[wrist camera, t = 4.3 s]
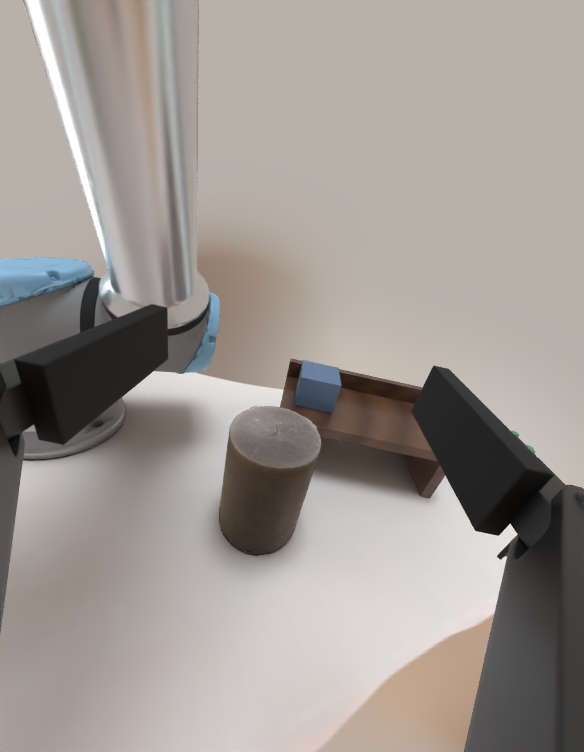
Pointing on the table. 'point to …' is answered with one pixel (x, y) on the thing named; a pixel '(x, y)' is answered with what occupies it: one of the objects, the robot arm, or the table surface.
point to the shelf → (373, 420)
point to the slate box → (318, 387)
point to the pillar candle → (266, 477)
